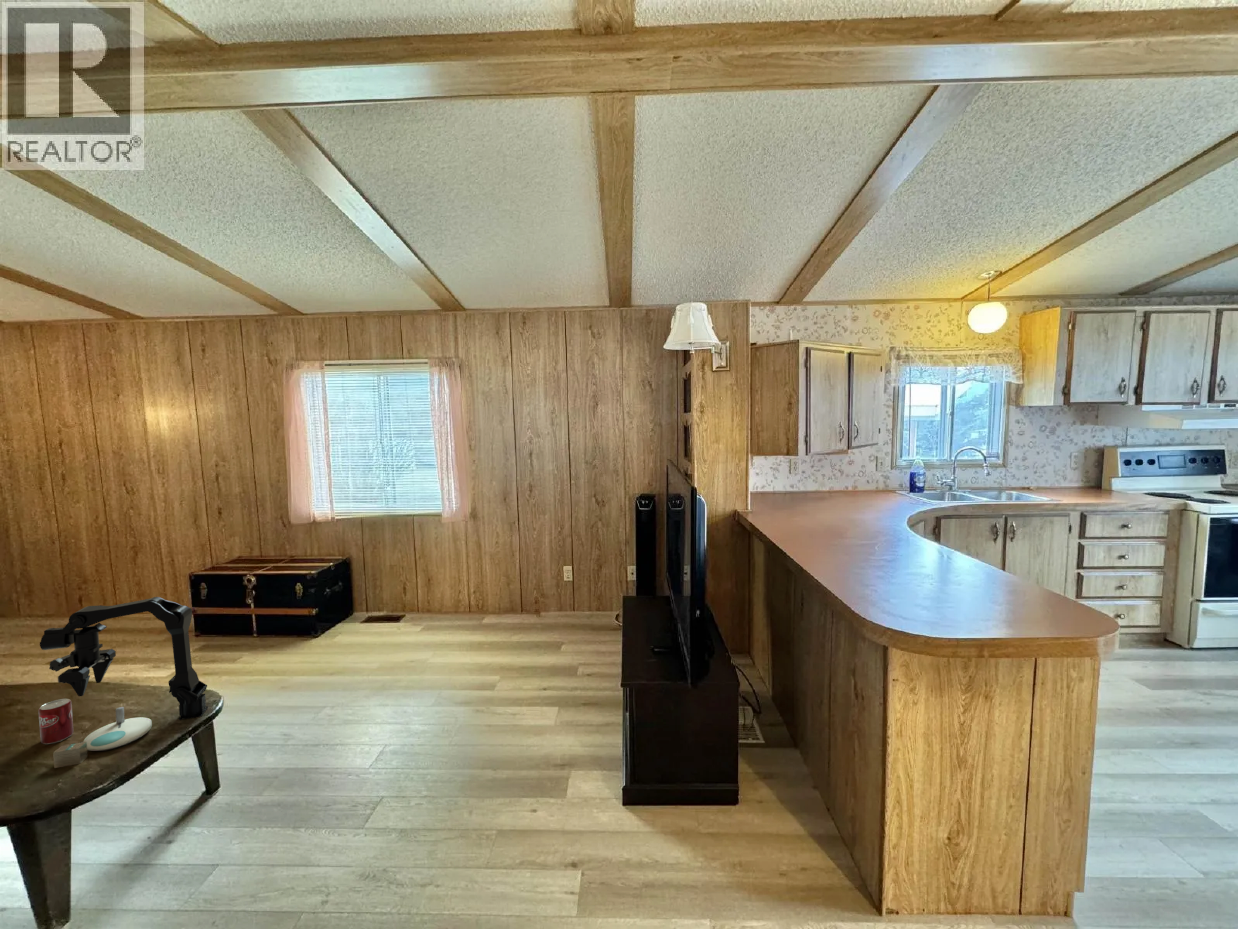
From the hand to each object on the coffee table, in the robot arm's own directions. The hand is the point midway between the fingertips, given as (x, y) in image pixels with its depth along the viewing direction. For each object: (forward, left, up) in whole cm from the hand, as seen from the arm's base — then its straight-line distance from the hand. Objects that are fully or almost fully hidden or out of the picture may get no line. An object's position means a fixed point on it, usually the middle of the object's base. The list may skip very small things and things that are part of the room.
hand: (90, 689), depth 169 cm
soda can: (+8, +2, -15) cm, 17 cm away
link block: (-4, +19, -15) cm, 24 cm away
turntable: (-11, +9, -13) cm, 20 cm away
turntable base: (-9, +9, -14) cm, 19 cm away
